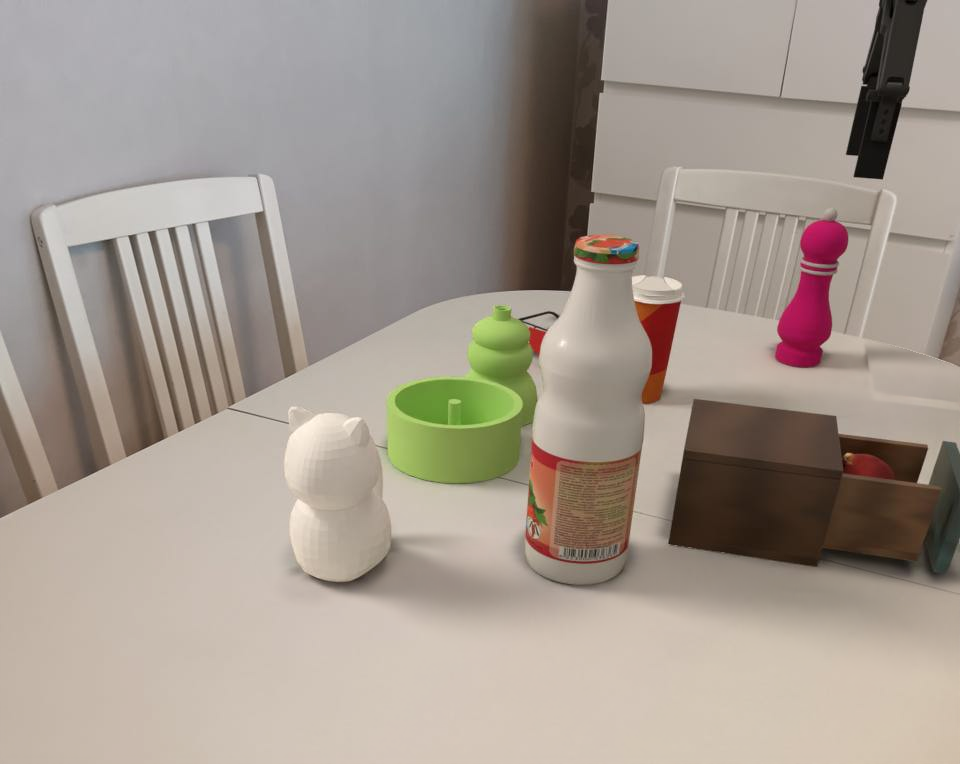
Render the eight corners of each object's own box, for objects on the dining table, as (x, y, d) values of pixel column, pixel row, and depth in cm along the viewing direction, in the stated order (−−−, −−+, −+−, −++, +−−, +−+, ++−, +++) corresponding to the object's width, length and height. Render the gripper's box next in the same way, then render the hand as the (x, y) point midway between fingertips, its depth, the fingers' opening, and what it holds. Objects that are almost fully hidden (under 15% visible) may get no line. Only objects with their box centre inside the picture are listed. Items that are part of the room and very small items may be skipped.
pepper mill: (763, 361, 135) (795, 207, 124) (781, 347, 140) (813, 199, 129) (813, 372, 132) (851, 216, 121) (830, 358, 137) (868, 207, 125)
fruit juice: (593, 599, 84) (633, 265, 68) (503, 564, 88) (521, 242, 72) (643, 556, 90) (691, 240, 74) (557, 525, 95) (584, 221, 78)
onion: (848, 502, 96) (820, 440, 91) (909, 489, 92) (882, 424, 88) (840, 542, 92) (810, 480, 88) (903, 531, 89) (875, 465, 85)
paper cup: (611, 381, 127) (624, 271, 119) (670, 388, 126) (687, 277, 118) (605, 403, 121) (618, 288, 112) (667, 410, 120) (685, 295, 111)
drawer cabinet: (813, 505, 100) (836, 415, 94) (817, 567, 90) (843, 470, 84) (678, 486, 102) (693, 398, 97) (667, 544, 92) (683, 449, 87)
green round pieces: (489, 494, 100) (494, 375, 92) (364, 466, 104) (359, 350, 97) (566, 410, 119) (575, 306, 111) (458, 389, 123) (460, 288, 116)
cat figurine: (269, 583, 84) (251, 421, 76) (333, 519, 94) (323, 369, 85) (363, 604, 82) (355, 440, 73) (418, 537, 92) (418, 385, 83)
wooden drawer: (986, 523, 96) (1014, 449, 91) (1008, 583, 87) (1041, 504, 82) (801, 497, 99) (819, 425, 95) (804, 552, 90) (824, 475, 85)
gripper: (871, -88, 98) (821, 145, 110) (894, -100, 78) (830, 185, 91) (949, -86, 97) (890, 150, 109) (993, -98, 77) (914, 192, 89)
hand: (863, 166), depth 100 cm, fingers open, 13 cm apart
